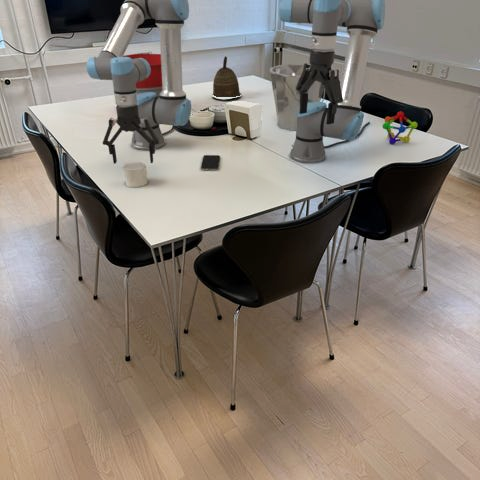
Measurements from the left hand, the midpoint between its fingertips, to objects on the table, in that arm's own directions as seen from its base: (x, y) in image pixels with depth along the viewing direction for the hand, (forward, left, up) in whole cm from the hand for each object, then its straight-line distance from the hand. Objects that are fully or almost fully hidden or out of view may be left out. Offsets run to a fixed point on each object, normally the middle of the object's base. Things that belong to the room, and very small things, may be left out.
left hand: (133, 162), depth 166 cm
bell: (-133, +16, -9) cm, 134 cm away
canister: (0, 0, -9) cm, 9 cm away
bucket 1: (-91, -23, -9) cm, 95 cm away
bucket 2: (-81, +60, -9) cm, 101 cm away
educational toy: (-60, +108, -9) cm, 124 cm away
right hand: (+2, +66, +20) cm, 69 cm away
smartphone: (-23, +25, -9) cm, 35 cm away
